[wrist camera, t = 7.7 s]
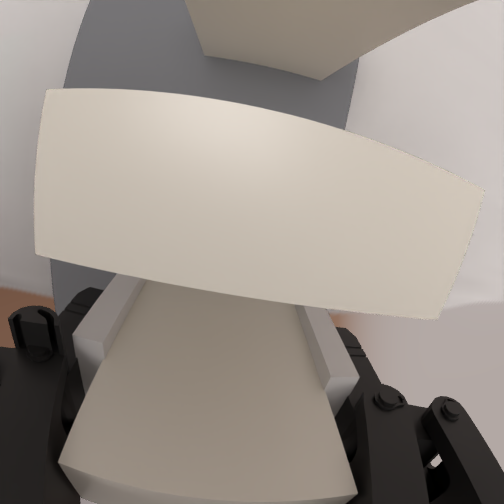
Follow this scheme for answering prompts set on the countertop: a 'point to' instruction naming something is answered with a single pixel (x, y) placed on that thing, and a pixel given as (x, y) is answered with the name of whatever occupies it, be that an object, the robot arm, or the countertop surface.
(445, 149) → the countertop surface
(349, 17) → the domino
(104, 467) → the domino
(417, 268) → the domino
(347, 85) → the mat
